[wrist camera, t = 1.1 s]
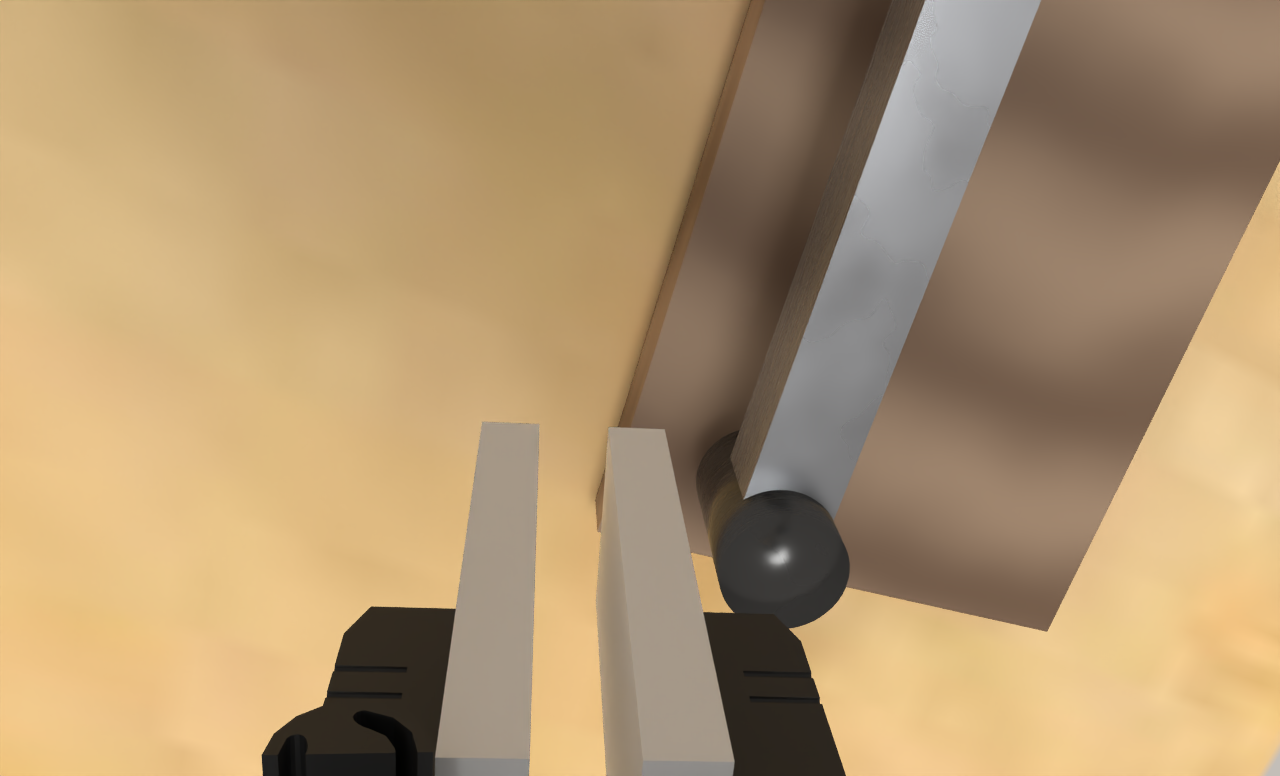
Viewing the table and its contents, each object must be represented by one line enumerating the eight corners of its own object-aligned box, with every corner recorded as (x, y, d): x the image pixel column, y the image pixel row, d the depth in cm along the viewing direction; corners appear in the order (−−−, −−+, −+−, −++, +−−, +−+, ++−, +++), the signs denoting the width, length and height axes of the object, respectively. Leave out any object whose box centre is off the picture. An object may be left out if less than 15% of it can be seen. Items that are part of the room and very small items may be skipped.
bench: (987, -759, 25) (1109, -945, 20) (1553, -508, 28) (1801, -611, 22) (595, 500, 37) (602, 606, 31) (1023, 597, 39) (1101, 711, 34)
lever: (1005, -558, 24) (1114, -669, 19) (1230, -466, 25) (1385, -550, 20) (651, 508, 33) (667, 607, 28) (825, 548, 34) (868, 650, 29)
